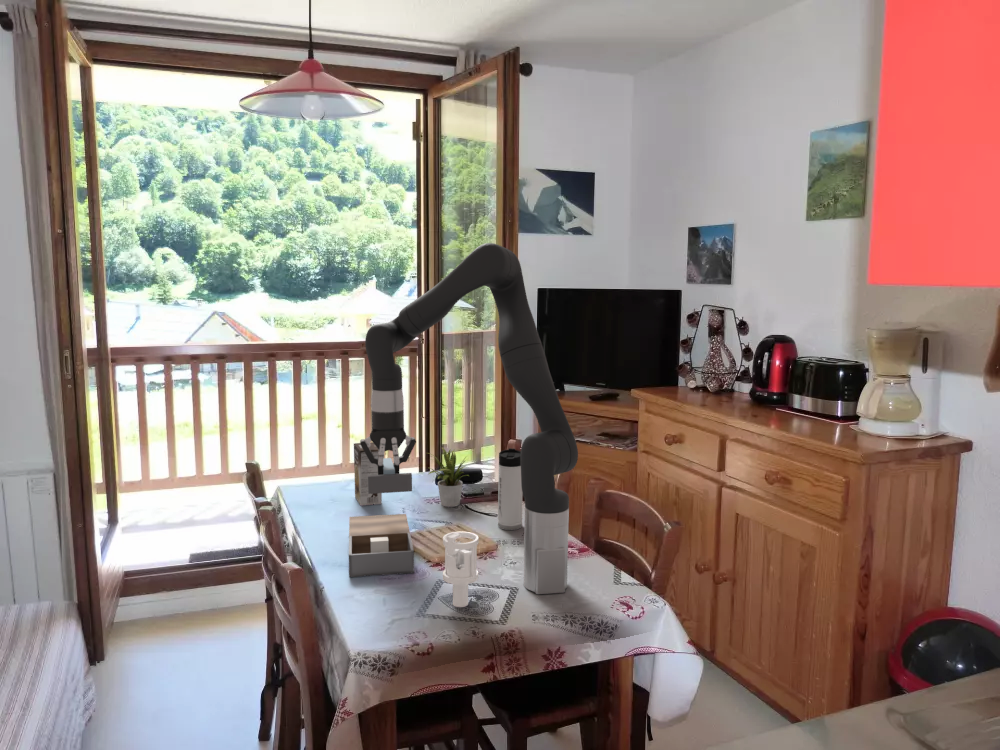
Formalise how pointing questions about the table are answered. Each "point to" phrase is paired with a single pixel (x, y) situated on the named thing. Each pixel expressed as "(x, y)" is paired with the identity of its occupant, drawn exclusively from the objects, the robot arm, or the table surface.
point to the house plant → (449, 480)
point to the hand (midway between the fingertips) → (388, 479)
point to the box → (381, 562)
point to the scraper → (389, 480)
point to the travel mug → (509, 490)
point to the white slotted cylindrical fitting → (460, 565)
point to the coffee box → (365, 475)
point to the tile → (379, 544)
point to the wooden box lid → (379, 532)
